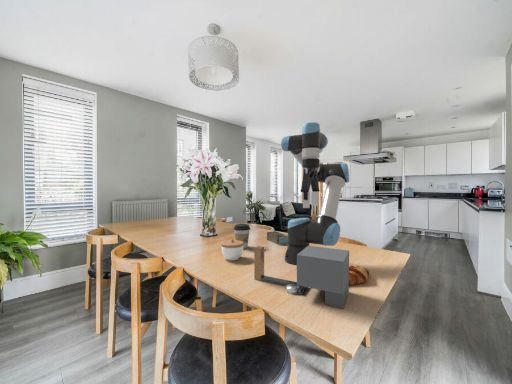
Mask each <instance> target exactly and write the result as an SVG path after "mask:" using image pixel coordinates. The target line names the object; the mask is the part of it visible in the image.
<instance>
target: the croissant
mask: <svg viewBox="0 0 512 384" xmlns="http://www.w3.org/2000/svg"><path fill="white" fill-rule="evenodd" d="M370 274H371V271H370V269H367V268H366V267H362V266H360V265H351V264H349V285H350V286H353V285H360V284H363V283H365V282H367V281H368V279H369V276H370Z"/></svg>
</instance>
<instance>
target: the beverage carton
mask: <svg viewBox="0 0 512 384" xmlns="http://www.w3.org/2000/svg"><path fill="white" fill-rule="evenodd" d="M266 240H267V241H269V242H272V243H273V244H276V245H278V246H284V245H288V235H286V234H284V233H281V232H279V231H276V230H273V231H267V232H266Z"/></svg>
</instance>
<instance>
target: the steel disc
mask: <svg viewBox="0 0 512 384" xmlns="http://www.w3.org/2000/svg"><path fill="white" fill-rule="evenodd" d="M298 289H299V286H298V285H296V284H288V285H286V286H285V290H286V291H285V292H286V293H287V294H290V295H299V294H298Z"/></svg>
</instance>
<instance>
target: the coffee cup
mask: <svg viewBox="0 0 512 384" xmlns="http://www.w3.org/2000/svg"><path fill="white" fill-rule="evenodd" d="M233 230H234V237H235V239H234V240H239V241H242V242H244V245H243V250H245V249H247V248H248V246H249V245H248V244H249V239H250V230H251V226H250V225H249V224H248V223H237V224H235V225H234V227H233Z"/></svg>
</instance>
